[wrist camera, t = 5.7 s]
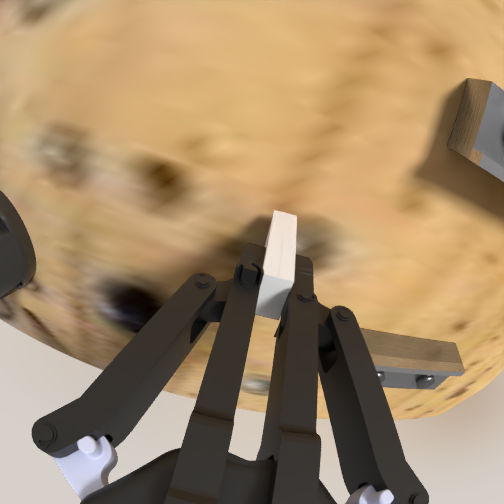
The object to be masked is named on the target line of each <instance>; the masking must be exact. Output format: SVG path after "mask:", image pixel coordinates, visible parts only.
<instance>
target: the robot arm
mask: <svg viewBox="0 0 504 504" xmlns="http://www.w3.org/2000/svg"><path fill="white" fill-rule="evenodd" d="M296 228H297V216H295V215H291V214H288V213H284V212H280V211H276V210H274V213H273V217H272V221H271V225H270V228H269V232H268V236H267V239H266V243H265V247H262V246H258V245H254V244H251V243H249V244H248V245H247V246H245V247H244V250H243V253H242V256H241V259H240V262H239V263H238V264H237V266H236V269H235V274H234V278H233V279H231V280H229V281H224V282H216V280H215V278H214V277H213V276H211V275H209V274H206V273H197V274H194V275H192V276H191V277H190V278H189V279H188V280H187V281H186V282H185V283H184V284H183V285H182V286H181V287H180V288H179V289H178V290H177V291H176V292H175V293H174V295H173V296H172V297H171V298H170V299H169V300H168V301H167V302H166V303H165V304H164V305H163V306H162V307H161V308H160V309H159V311H158V312H157V313H156V314H155V315H154V316H153V317H152V318H151V319H150V320H149V321H148V322H147V323H146V325H145V326H144V327H143V328H142V329H141V330H140V331H139V332H138V333H137V334H136V335H135V336H134V338H133V339H132V340H131V341H130V342H129V343H128V344H127V345H126V346H125V347H124V349H123V350H122V351H121V352H120V353H119V354H118V355H117V356H116V357H115V358H114V360H113V361H112V362H111V363H110V364H109V365H108V366H107V367H106V369H105V370H104V371H103V372H102V373H101V374H100V375H99V376H98V378H97V379H96V380H95V381H94V382H93V383H92V384H91V385H90V387H89V388H88V389H87V390H86V391H85V392H84V393H83V395H82V396H81V397H80V398H78V399H76V400H74V401H72V402H71V403H69V404H67V405H65V406H63V407H61V408H59V409H57V410H55V411H54V412H52V413H50V414H48V415H46V416H44V417H42V418H40V419H39V420H37V421H36V422H35V423H34V425H33V428H32V438H33V441H34V443H35V444H36V446H37V447H38V448H39V449H41V450H42V451H44V452H45V453H47V454H49V455H50V456H51V457H53V459H54V460H55V462H56V463H57V465H58V467H59V468H60V470H61V471H62V473H63V475H64V476H65V478H66V479H67V481H68V482H69V484H70V485H71V487H72V488H73V489H74V491H75V492H76V494H77V495H78V497H79V498H80V499H81V503H80V504H337V503H336V502H335V500H334V499H333V498H332V496H331V495H330V493H329V492H328V490H327V489H326V488H325V486H324V485H323V484H322V482H321V481H320V479H319V471H320V470H319V469H320V456H321V438H320V436H319V435H318V434H317V433H316V418H317V391H318V372H319V376H320V380H321V384H322V388H323V392H324V396H325V401H326V405H327V409H328V413H329V417H330V422H331V426H332V430H333V435H334V439H335V444H336V448H337V453H338V457H339V462H340V467H341V471H342V475H343V479H344V482H345V485H346V487H347V490H348V492H349V494H350V497H349V498H348V500H347V502H346V504H428V503H429V495H428V493H427V491H426V489H425V488H424V486H423V485H422V483H421V482H420V481H419V479H418V478H417V476H416V475H415V474H414V472H413V470H412V469H411V468H410V466H409V465H408V463H407V462H406V460H405V457H404V453H403V450H402V446H401V443H400V440H399V436H398V433H397V430H396V427H395V424H394V420H393V417H392V414H391V411H390V408H389V405H388V402H387V399H386V396H385V394H384V391H383V388H382V385H381V382H380V379H379V377H378V374H377V371H376V368H375V366H374V363H373V360H372V358H371V355H370V353H369V350H368V347H367V345H366V342H365V340H364V337H363V335H362V332H361V330H360V327H359V325H358V322H357V320H356V317H355V315H354V314H353V312H352V311H351V310H350V309H348V308H346V307H344V306H335V307H333V308H332V309H329V308H327V307H325V306H323V305H322V304H320V303H319V302H318V300H317V296H316V295H315V294H314V285H313V263H312V262H311V260H310V258H308V257H304V256H300V255H296ZM35 272H36V257H35V252H34V248H33V245H32V242H31V239H30V236H29V234H28V232H27V229H26V227H25V225H24V223H23V221H22V219H21V217H20V216H19V214H18V212H17V211H16V209H15V207H14V206H13V205H12V203H11V202H10V200H9V199H8V198H7V197H6V196H5V195H4V193H3V192H1V191H0V299H2V298H4V297H6V296H8V295H9V294H11V293H13V292H15V291H16V290H18V289H21V288H23V287H24V286H25V285H26V284H27V283H28V282H29V281H30V280H31V279H32V278H33V276H34V275H35ZM255 315H259V316H263V317H267V318H272V319H276V320H279V318H280V316H281V320H280V323H279V326H278V328H277V330H276V333H275V335H274V337H276V336H277V337H276V345H275V352H274V360H273V367H272V375H271V382H270V389H269V396H268V403H267V410H266V416H265V423H264V430H263V435H262V442H261V446H260V450H259V452H258V455H257V458H256V461H248V460H245V459H243V458H240V457H238V456H236V455H234V454H231V453H229V452H228V450H229V445H230V441H231V436H232V430H233V425H234V415H235V410H236V406H237V401H238V396H239V391H240V386H241V382H242V377H243V372H244V367H245V362H246V357H247V352H248V347H249V342H250V337H251V332H252V327H253V322H254V317H255ZM211 322H220V324H219V328H218V331H217V334H216V337H215V341H214V344H213V347H212V351H211V354H210V357H209V360H208V364H207V367H206V370H205V374H204V377H203V380H202V384H201V387H200V390H199V394H198V397H197V400H196V404H195V407H194V410H193V412H192V414H191V416H190V420H189V423H188V427H187V429H186V433H185V436H184V440H183V443H182V446H181V448H178V449H174V450H171V451H168V452H166V453H164V454H162V455H161V456H159V457H157V458H156V459H154V460H152V461H151V462H149V463H147V464H146V465H144V466H142V467H140V468H139V469H137V470H135V471H133V472H131V473H130V474H128V475H126V476H124V477H122V478H120V479H119V480H117V481H115V482H113V483H111V484H109V483H108V475H109V473H110V471H111V470H112V469H113V468H114V467H115V466H116V464H117V460H118V456H117V453H116V450H115V449H114V448H115V447H117V446H118V445H119V444H120V443H121V442H122V441H124V440H125V438H126V437H127V436H128V435H129V434H130V432H131V431H132V430H133V429H134V427H135V426H136V425H137V423H138V422H139V420H140V419H141V417H142V416H143V415H144V414H145V412H146V411H147V410H148V408H149V407H150V406H151V404H152V403H153V401H154V400H155V398H156V397H157V396H158V395H159V393H160V392H161V391H162V389H163V388H164V387H165V385H166V384H167V382H168V381H169V380H170V378H171V377H172V376H173V374H174V373H175V371H176V370H177V369H178V367H179V366H180V365H181V363H182V362H183V361H184V359H185V358H186V356H187V355H188V354H189V352H190V351H191V350H192V348H193V347H194V345H195V344H196V343H197V341H198V340H199V339H200V337H201V336H202V334H203V333H204V332H205V330H206V329H207V328H208V326H209V325H210V323H211Z"/></svg>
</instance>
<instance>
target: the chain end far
mask: <svg viewBox="0 0 504 504" xmlns="http://www.w3.org/2000/svg"><path fill="white" fill-rule="evenodd" d="M360 330H361V332H362V335H363V337H364V340H365V342H366V345H367V347H368V350H369V353H370V355H371V358H372V360H373V363H374V366H375V368H376V371H377V374H378V377H379V379H380V382H381V385H382V387H388V388H405V389H435V388H436V387H438V386H439V385H440V384H441V383H442V382H443V381H444V380H445V379H447V378H448V377H449V376H462V375H463V374H464V373H465V370H464V367H463V363H462V360H461V358H460V355H459V352H458V349H457V346H456V343H451V342H443V341H436V340H429V339H422V338H416V337H409V336H403V335H397V334H391V333H385V332H379V331H374V330H368V329H363V328H360Z"/></svg>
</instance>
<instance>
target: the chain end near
mask: <svg viewBox="0 0 504 504" xmlns="http://www.w3.org/2000/svg"><path fill="white" fill-rule="evenodd" d="M448 147H449V148H451V149H453V150H454V151H456V152H458V153H459V154H461V155H462V156H464V157H466V158H467V159H469V160H470V161H472V162H473V163H475V164H476V165H478V166H480V167H481V168H483V169H484V170H486V171H488V172H489V173H491V174H492V175H494V176H495V177H497V178H498V179H500V180H501V181H503V182H504V91H503V90H502V89H501V88H500V87H498V86H497V85H496V84H495V83H493V82H491V81H485V80H479V79H471V78H468V79H467V84H466V87H465V91H464V95H463V99H462V102H461V106H460V109H459V113H458V116H457V119H456V122H455V125H454V128H453V131H452V134H451V137H450V140H449V143H448Z"/></svg>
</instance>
